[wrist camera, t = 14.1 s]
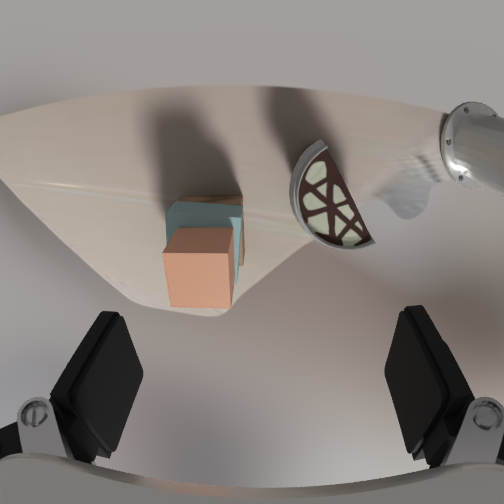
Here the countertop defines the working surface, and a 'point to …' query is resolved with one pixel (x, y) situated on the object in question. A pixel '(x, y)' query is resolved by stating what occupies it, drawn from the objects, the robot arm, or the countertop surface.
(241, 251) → the tower base block
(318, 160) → the food container
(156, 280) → the countertop surface
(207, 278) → the terracotta cube
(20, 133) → the countertop surface
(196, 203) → the tower top block
